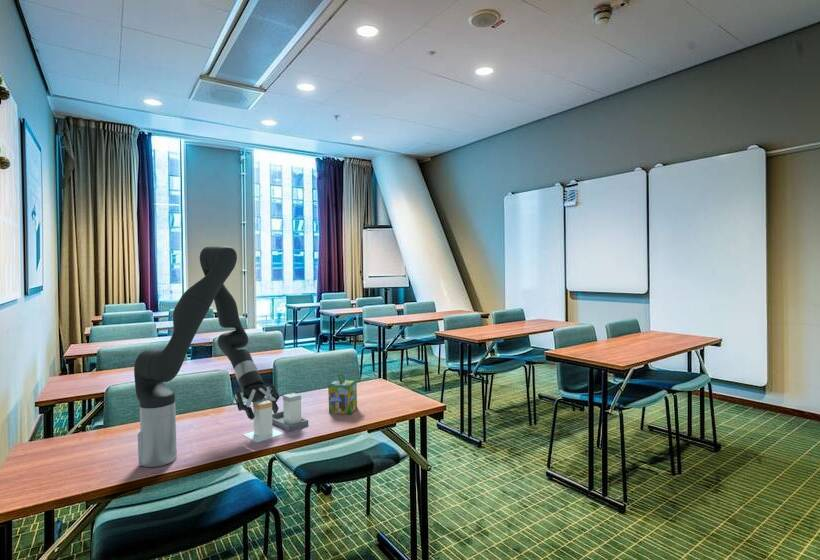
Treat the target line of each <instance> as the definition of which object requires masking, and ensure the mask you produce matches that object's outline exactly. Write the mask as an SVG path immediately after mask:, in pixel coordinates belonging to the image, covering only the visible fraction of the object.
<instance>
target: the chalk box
mask: <svg viewBox="0 0 820 560" xmlns="http://www.w3.org/2000/svg"><path fill="white" fill-rule="evenodd" d="M337 377H338V379H334V380H333V381H332V382H330V383H329V384H328V385H327V386H328V387H327V389H328V414H335V415H336V414H338V415H352V413H354V411H356V409H358V392H357V391H358V389H357V384H358V382H357V380H352V379H350V380H349V379H345V378H344V373H343V372H341V373H340V374H338V376H337Z"/></svg>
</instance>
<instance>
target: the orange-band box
mask: <svg viewBox="0 0 820 560" xmlns="http://www.w3.org/2000/svg"><path fill="white" fill-rule="evenodd" d="M252 408H253V409H252V411H253V413H254V416H255V417H254V419H253V431H254V435H256V436H258V437H260V438H261V437H264V436H267V435H270V434H273V424H272V414H273V410H272V402H271V401H268V400H266V399H265V400H261V401H257V402H252Z"/></svg>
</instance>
